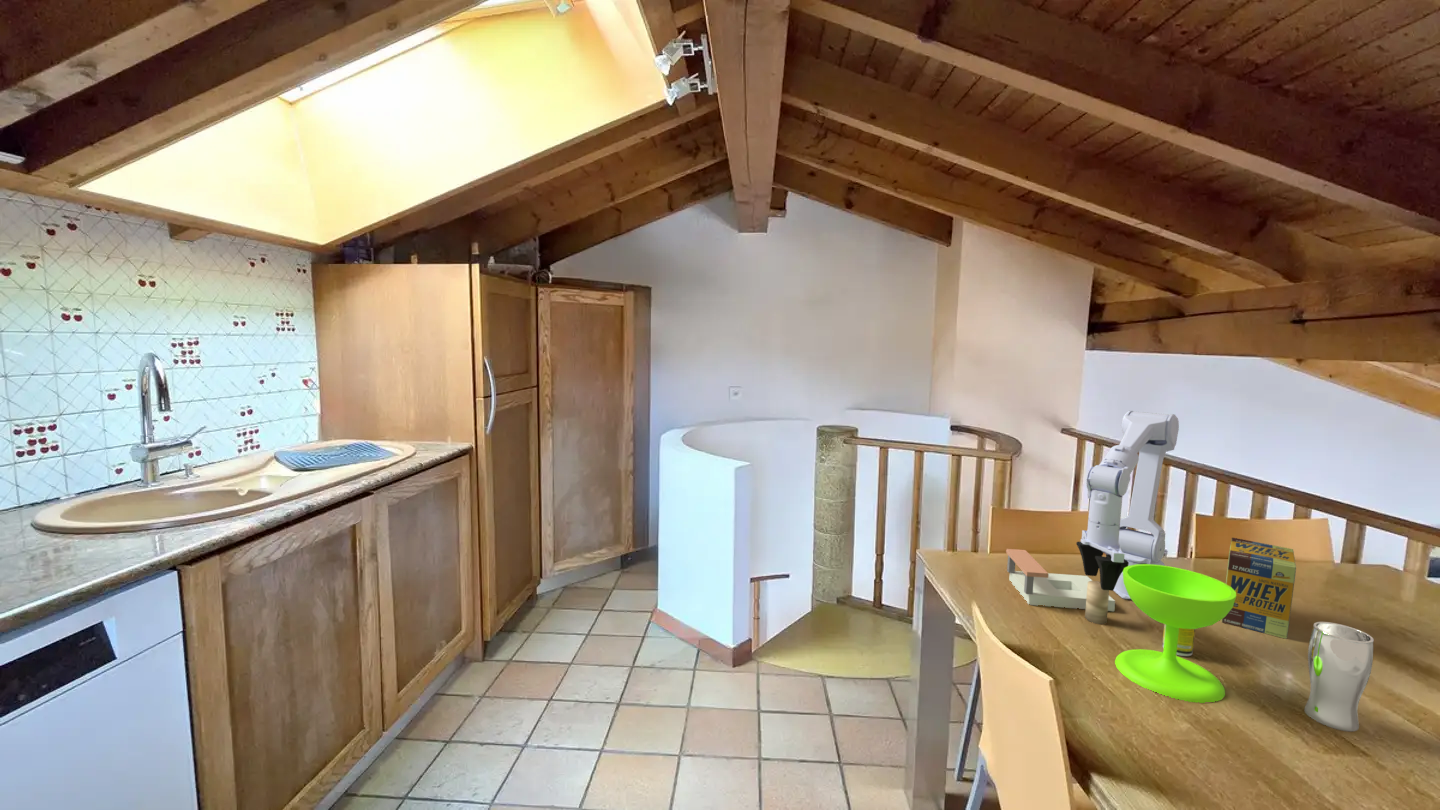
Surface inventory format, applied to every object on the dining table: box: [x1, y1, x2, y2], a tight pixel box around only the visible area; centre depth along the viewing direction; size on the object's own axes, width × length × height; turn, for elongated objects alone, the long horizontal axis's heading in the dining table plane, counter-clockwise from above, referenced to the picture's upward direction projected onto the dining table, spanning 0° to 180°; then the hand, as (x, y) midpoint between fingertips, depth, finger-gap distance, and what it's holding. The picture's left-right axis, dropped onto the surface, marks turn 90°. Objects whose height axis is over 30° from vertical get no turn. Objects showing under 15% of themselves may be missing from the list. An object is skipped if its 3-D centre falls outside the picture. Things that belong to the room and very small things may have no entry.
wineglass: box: [1114, 564, 1236, 704], centre depth 105 cm, size 16×16×18 cm
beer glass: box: [1304, 621, 1374, 732], centre depth 93 cm, size 7×7×15 cm
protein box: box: [1221, 537, 1297, 639], centre depth 127 cm, size 10×15×16 cm
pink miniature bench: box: [1005, 548, 1049, 595], centre depth 140 cm, size 4×15×6 cm, turn 170°
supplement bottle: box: [1161, 624, 1196, 657], centre depth 114 cm, size 5×5×8 cm
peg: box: [1084, 580, 1110, 625], centre depth 126 cm, size 4×4×8 cm
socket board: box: [1008, 570, 1116, 612], centre depth 139 cm, size 18×14×2 cm
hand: (1098, 582), depth 126 cm, fingers open, 7 cm apart
